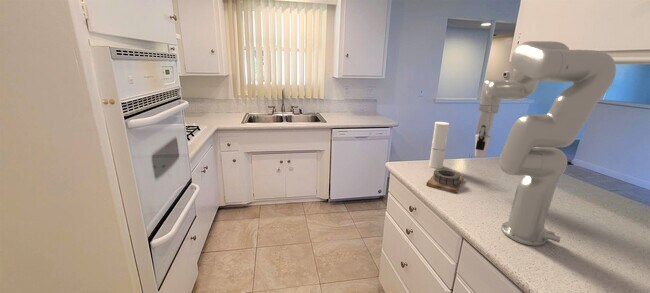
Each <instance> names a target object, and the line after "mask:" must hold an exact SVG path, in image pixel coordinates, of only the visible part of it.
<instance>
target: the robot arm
mask: <svg viewBox="0 0 650 293" xmlns="http://www.w3.org/2000/svg"><path fill="white" fill-rule="evenodd" d="M510 58H511V59H510V61H511V62H510V63H511V66H512V67H513V70H512V71H513V72H512V76H513V78H514V80H506V79H505V80H500V79H487V80H485V81H484V82H483V84H482V89H481V95H480V102H479V106H478V109H477V110H478V112H479V116H478V120H477V126H476V129H475V135H476V134H479V137H478V140H477V144H476V149H478V150H484V147H485V138H486V136H487V135H488V136H489V134H490V133H491V130H492V127H493V124H494V118H495V114H498V113H499V108H500V105H501V100H509V101H510V100H511V101H513V100H514V101H517V100H523V99H525V98H527V97H529V96H531V95H532V94H534V93H535V92H536V90H537V89H538V86H539V83H540V82H546V83H547V82H549V83H551V82H553V83H556V82H557V83H573V84H572V85H571V86H569V87H567V88H566V89H564V90H563V91H562V92H561V93H559V95H558V96H557V97H555V99H554V101H553V103H552V104H551V107H550V109H549V110H548V112H547V113H545V114H525V115H522V116H520V117H519V118H518V119H516V120H515V122H514V123H513V124H512V126H511V129H510V131H509V133H508V135H507V137H506V140H505V143H504V145H503V147H502V149H501V152H500V156H499V167H500V169H501V170H502V172H504V173H505V174H506V175H511V176H522V177H521V179H520V180H519V181H518V184H517V186H516V189H515V193H514V198H513V201H512V205H511V209H510V214H509V217H508V221H505V222H503V223H502V224H501V228H500V229H501V231H502V233H503V234H504V235H505V236H506V237H507V238H509V239H511V240H513V241H515V242H518V243H520V244H523V245H528V246H533V247H534V246H535V247H537V246H543V245H545V244H546V242H547V240H551V241H553V242H557V243H560V242H561V236H560V235H559V236H558V235H556V232H555V231H552V230H547V229H546V228H545V223H546V220H547V218H548V217H547V216H548V213H549V211H550V206H551V203H552V200H553V197H554V193H555V191H556V188H557V186H558V183H559V181H560V180H561V178H562V176H563V175H564V173H565V171H566V169H567V166H568V157H567V155H566V154H565V152H564V151H562V150H561V149H559V148H566V147H569V146H571V145H572V144H573V143H574V142H575V140H576V139H577V138H578V135H579V134H580V132H581V131H582V129H583V127H584V125H585V124H586V122H587V121H588V119H589V117H590V115H591V113H592V112H593V110H594V108H595V106H596V105H597V104H599V101H601V99H602V98H603V97H604V96H605V94H606V93H607V92H608V91H609V89H610V87H611V86H612V84H613V83H614V81H615V79H616V78H615V77H616V74H617V73H616V72H617V65H616V62H615V59H614V58H613V57H612V56H611V55H610V54H608V53H607V52H604V51H599V50H594V49H593V50H592V49H570V48H569V47H568V45H567V44H565V43H563V42H559V41H552V40H551V41H539V40H536V41H535V40H531V41H525V42H522V43H521V44H519V45H518V46H517V47H516V48H515V49H514V50H513V52H512V55H511V57H510Z"/></svg>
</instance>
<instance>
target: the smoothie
mask: <svg viewBox="0 0 650 293" xmlns="http://www.w3.org/2000/svg"><path fill="white" fill-rule="evenodd" d="M474 137H475V142H474V143H475V144H474V156H475V157H477V158H484V157H485V155H486V152H487V149H488V146H489V143H490V140H492V136H491V135H489V134H488V135H487V136H486V138H485V147H484V150H478V149H476V144H477V140H478V137H479V133H478V134H476V133H475V136H474Z"/></svg>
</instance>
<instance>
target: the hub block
mask: <svg viewBox="0 0 650 293" xmlns="http://www.w3.org/2000/svg"><path fill="white" fill-rule="evenodd" d="M464 179H465V177H464V176H461V174H460V172H457V171H455V170H452V169H449V168H448V169H446V168H441V169H436V168H435V169H434V171H433V175H432V176H431V177H430V178H429V179H428V180H427V181H426V186H427V187H430V188H435V189H439V190H442V191H446V192H450V193H452V194H453V193H454V194H456V193H457V191H458V190H459V188H460V187H461V186H462V183H463V181H464Z"/></svg>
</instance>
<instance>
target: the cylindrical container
mask: <svg viewBox="0 0 650 293" xmlns="http://www.w3.org/2000/svg"><path fill="white" fill-rule="evenodd" d="M433 128H434V129H433V135H432V142H431V149H430V156H429V164H428V166H429V167H430V168H433V169H435V170H436V169H443V167H444V160H445V154H446V147H447V141H448V135H449V128H450V123H449V122H445V121H435V122H434V127H433Z"/></svg>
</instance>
